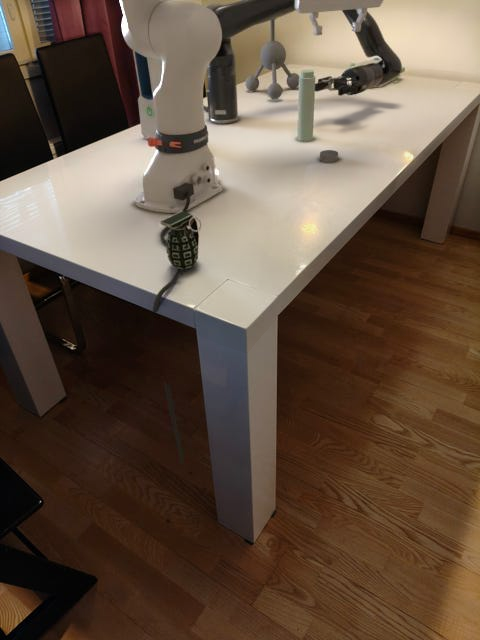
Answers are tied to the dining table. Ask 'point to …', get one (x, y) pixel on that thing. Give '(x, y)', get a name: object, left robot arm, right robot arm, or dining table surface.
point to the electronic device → (147, 92)
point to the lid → (328, 156)
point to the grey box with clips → (374, 62)
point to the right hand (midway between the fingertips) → (327, 89)
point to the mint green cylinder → (306, 105)
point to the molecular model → (273, 66)
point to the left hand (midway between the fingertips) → (337, 33)
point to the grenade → (182, 240)
